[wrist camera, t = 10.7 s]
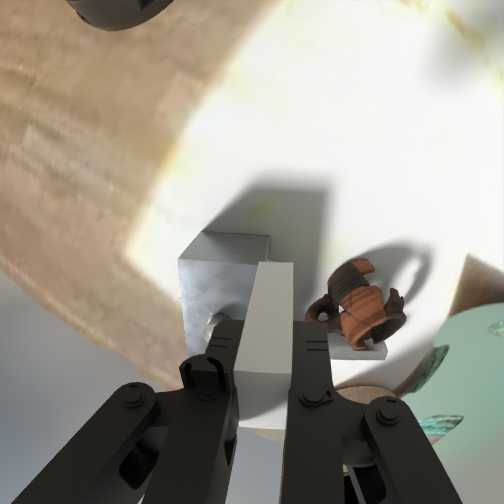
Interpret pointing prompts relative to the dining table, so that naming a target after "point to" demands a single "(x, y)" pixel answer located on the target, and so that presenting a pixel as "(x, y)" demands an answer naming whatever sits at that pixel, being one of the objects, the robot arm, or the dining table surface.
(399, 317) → the brown curved piece
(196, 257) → the motor bracket
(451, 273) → the dining table surface
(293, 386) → the robot arm
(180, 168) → the dining table surface
